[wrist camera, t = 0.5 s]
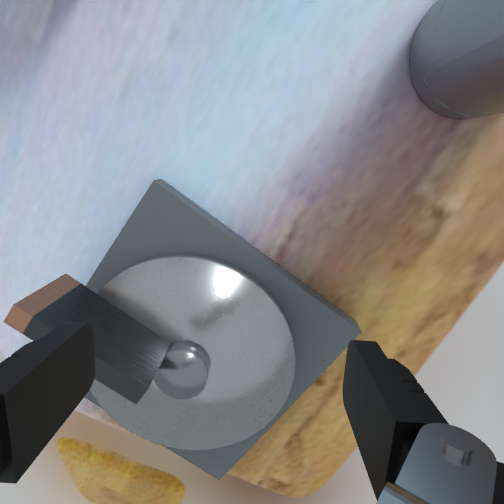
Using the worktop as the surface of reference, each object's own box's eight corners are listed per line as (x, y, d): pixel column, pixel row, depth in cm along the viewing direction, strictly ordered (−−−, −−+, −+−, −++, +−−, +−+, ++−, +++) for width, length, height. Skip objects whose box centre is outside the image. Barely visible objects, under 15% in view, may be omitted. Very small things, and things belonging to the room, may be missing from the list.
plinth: (161, 178, 30) (152, 180, 28) (355, 321, 32) (361, 333, 30) (46, 354, 35) (32, 367, 33) (221, 463, 38) (219, 481, 36)
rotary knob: (338, 337, 30) (359, 395, 23) (215, 468, 35) (201, 550, 28) (126, 185, 27) (76, 197, 20) (24, 350, 32) (-47, 407, 25)
